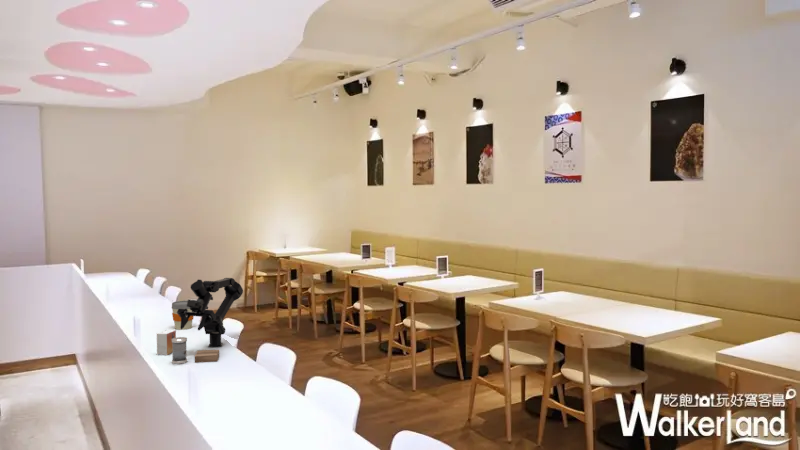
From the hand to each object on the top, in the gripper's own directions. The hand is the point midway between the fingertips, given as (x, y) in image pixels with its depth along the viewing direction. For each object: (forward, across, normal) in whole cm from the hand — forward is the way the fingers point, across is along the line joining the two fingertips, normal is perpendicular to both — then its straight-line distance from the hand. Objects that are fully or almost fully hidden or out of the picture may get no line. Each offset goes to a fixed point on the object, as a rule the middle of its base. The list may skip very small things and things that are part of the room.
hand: (189, 329), depth 281 cm
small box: (+7, -16, +13) cm, 21 cm away
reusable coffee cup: (-28, -40, +47) cm, 68 cm away
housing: (+16, 0, +4) cm, 16 cm away
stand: (+10, +10, +9) cm, 17 cm away
